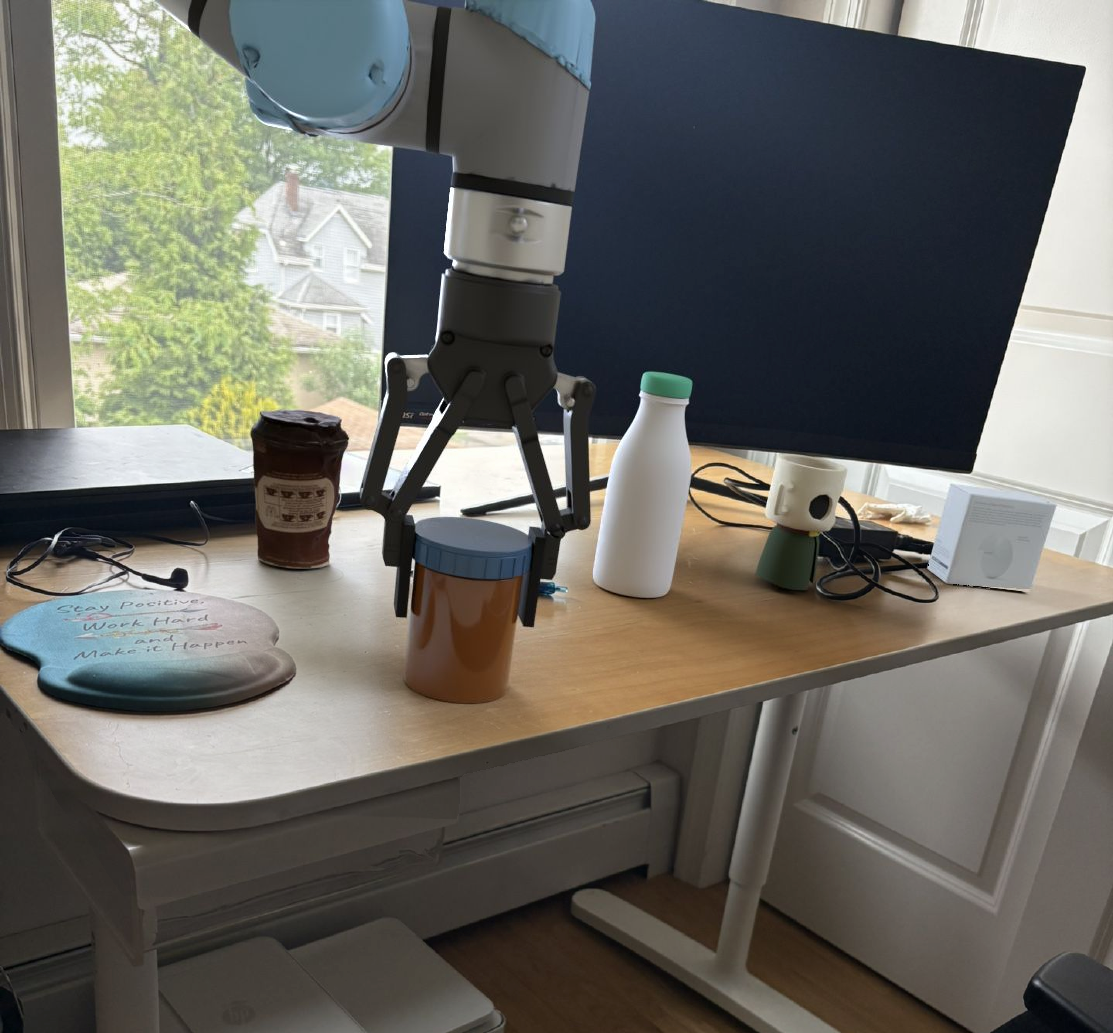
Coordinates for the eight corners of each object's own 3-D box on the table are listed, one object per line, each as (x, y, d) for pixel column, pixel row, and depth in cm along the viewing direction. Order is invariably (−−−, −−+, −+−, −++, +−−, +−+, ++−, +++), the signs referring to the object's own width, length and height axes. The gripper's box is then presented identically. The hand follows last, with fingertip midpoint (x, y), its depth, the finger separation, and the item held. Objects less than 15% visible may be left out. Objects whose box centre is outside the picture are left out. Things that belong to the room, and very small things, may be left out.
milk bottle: (673, 604, 108) (715, 387, 99) (592, 593, 107) (628, 374, 99) (665, 580, 115) (704, 376, 106) (589, 570, 114) (623, 363, 106)
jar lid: (413, 573, 74) (416, 545, 73) (405, 537, 81) (407, 511, 81) (539, 584, 76) (543, 556, 75) (519, 548, 83) (523, 523, 83)
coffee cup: (345, 579, 100) (355, 430, 95) (247, 573, 98) (252, 420, 92) (335, 550, 108) (345, 410, 102) (245, 544, 105) (249, 400, 100)
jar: (406, 700, 78) (421, 551, 74) (400, 659, 85) (413, 520, 81) (514, 706, 80) (535, 561, 76) (499, 665, 87) (518, 530, 82)
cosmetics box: (1006, 578, 137) (1034, 492, 133) (1030, 594, 131) (1060, 505, 127) (924, 567, 136) (949, 480, 132) (944, 584, 130) (971, 493, 126)
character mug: (785, 603, 113) (816, 473, 108) (726, 582, 117) (753, 456, 112) (837, 589, 121) (869, 467, 116) (780, 569, 125) (808, 451, 120)
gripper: (332, 251, 65) (311, 623, 75) (679, 301, 70) (618, 645, 80) (331, 244, 72) (311, 586, 81) (648, 291, 77) (595, 609, 86)
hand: (463, 615), depth 80 cm, fingers closed on jar lid, 8 cm apart
